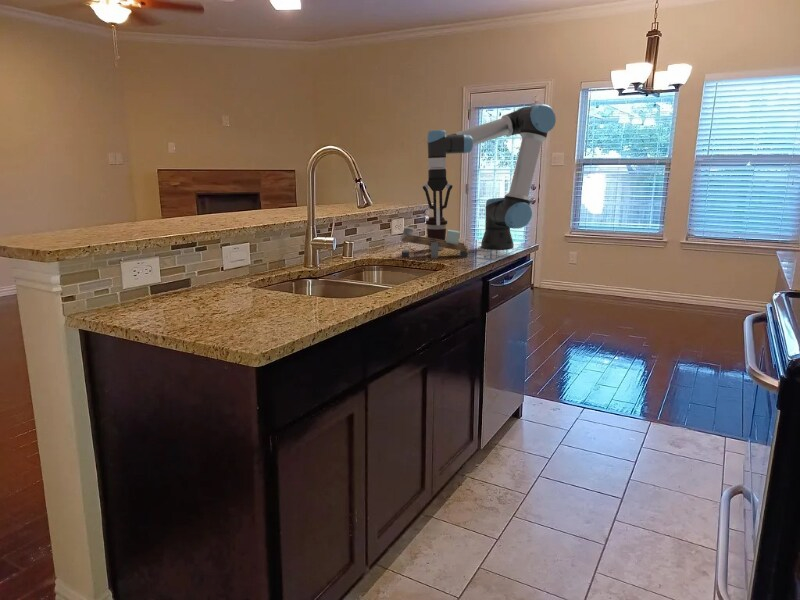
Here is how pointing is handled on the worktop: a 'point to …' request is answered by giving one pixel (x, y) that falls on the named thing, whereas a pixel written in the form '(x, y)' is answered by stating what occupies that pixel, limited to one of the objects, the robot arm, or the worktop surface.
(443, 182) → the robot arm
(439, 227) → the coffee cup
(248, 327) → the worktop surface
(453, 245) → the beam
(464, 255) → the fulcrum
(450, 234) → the light blue block
